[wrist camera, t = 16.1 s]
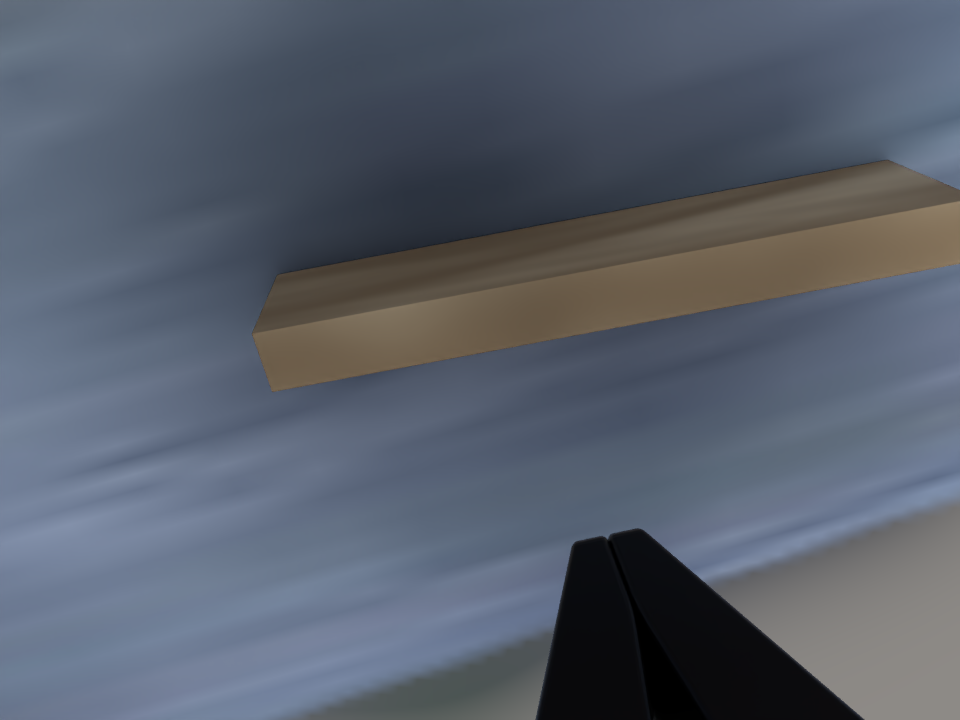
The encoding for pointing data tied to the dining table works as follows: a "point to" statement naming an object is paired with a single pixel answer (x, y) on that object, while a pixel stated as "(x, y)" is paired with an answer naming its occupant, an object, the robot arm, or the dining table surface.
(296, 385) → the channel
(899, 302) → the dining table surface
